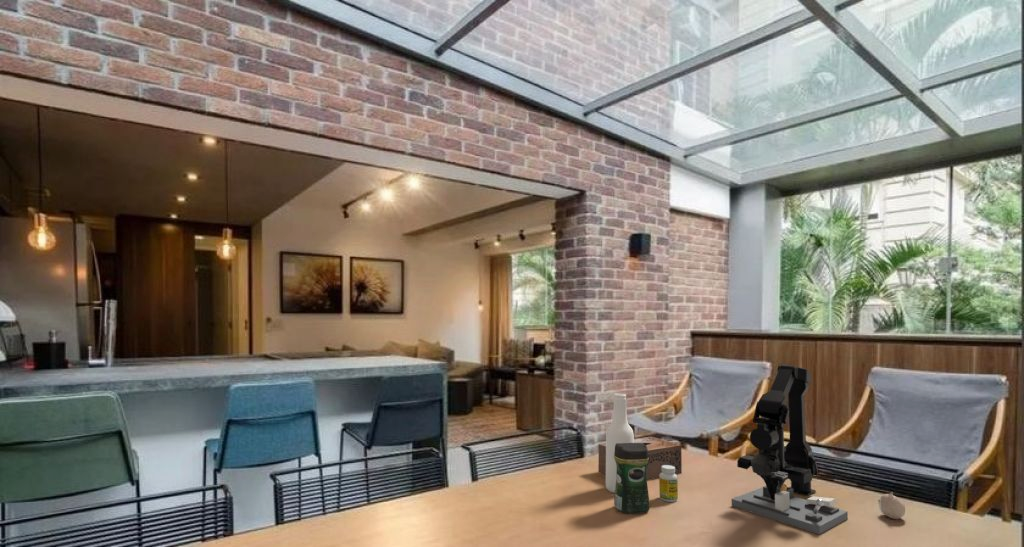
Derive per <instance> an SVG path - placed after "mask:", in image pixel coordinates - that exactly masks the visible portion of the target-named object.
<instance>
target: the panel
mask: <svg viewBox="0 0 1024 547" xmlns="http://www.w3.org/2000/svg"><path fill="white" fill-rule="evenodd" d="M789 487H790V486H787V492H789V503H790V508H789V509H787V510H785V511H780V510H777V509H775V500H772V499H771V497H770V494H769V491H768V489H767V486H766V485H764V486H763V487H759V488H756V489H755V490H754V489H753V490H751V491H749V492H746V493H744V494H741V495H738V496H735V497H733V498H731V506H732V507H734V508H737V509H740V510H743V511H746V512H749V513H752V514H755V515H759V516H762V517H764V518H766V519H767V518H768V519H771V520H774V521H777V522H780V523H784V524H787V525H789V526H792V527H795V528H798V529H801V530H804V531H808V532H811V533H812V534H813V533H814V534H816V535H821V534H823V533H825V532H827V531H828V530H831V529H832V528H834V527H836V526H838V525H839V524H842V523H843V522H845V521H846V520H848V518H849V517H848V511H847V510H844V509H840V507H839V508H838V507H836V506H833V505H832V506H821V507H820V509H819V511H818V512H817V514H814V513H813V510H814V508H815V506H816V505H815V504H807V499H804V498H801V497H797V496H795V492H794V489H793V488H789ZM779 492H781V491H779Z"/></svg>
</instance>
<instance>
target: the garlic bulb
mask: <svg viewBox="0 0 1024 547" xmlns="http://www.w3.org/2000/svg"><path fill="white" fill-rule="evenodd" d="M877 503H878V507H879V510H880V512H881V513H882V514H883V515H884V516H886V517H888V518H891V519H892V520H899V519H902V518H903V517H904V516H905V514H906V506H905V503H904V502H903V501H902V500H901V499H899V498H898V497H897V496H895V495H894V493H893V491H890V492H889V493H885V494H883V495H881V496H880V499H878V502H877Z"/></svg>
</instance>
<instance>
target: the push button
mask: <svg viewBox="0 0 1024 547" xmlns="http://www.w3.org/2000/svg"><path fill="white" fill-rule="evenodd" d="M787 487H788V485H787V484H786V483H783V485H782V487H781V489H780V491H787Z"/></svg>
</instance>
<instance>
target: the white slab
mask: <svg viewBox="0 0 1024 547" xmlns="http://www.w3.org/2000/svg"><path fill="white" fill-rule="evenodd" d="M817 499H822V500H823V501H824V505H823V506H832V507H833V506H834V505H835V504H837V501H836V498H831V497H821V496H810V497H809V498H806V500H807V504H815V505H816V504H817V503H816V500H817Z"/></svg>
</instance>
